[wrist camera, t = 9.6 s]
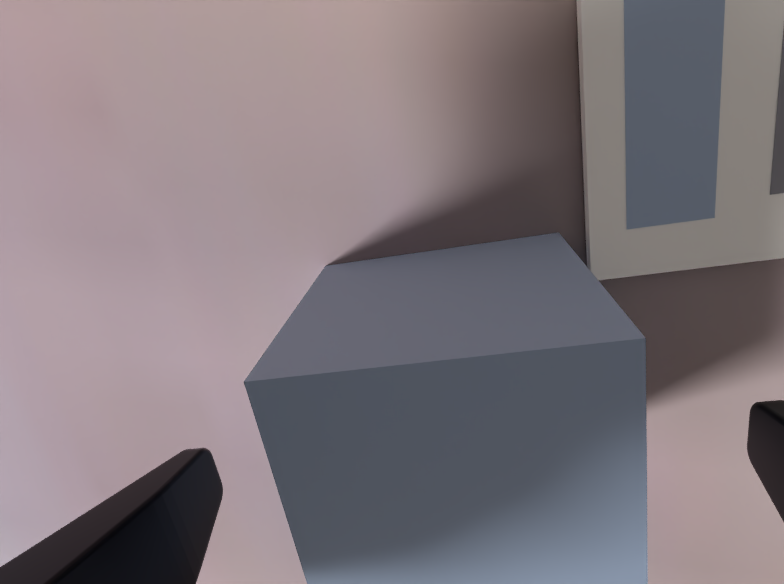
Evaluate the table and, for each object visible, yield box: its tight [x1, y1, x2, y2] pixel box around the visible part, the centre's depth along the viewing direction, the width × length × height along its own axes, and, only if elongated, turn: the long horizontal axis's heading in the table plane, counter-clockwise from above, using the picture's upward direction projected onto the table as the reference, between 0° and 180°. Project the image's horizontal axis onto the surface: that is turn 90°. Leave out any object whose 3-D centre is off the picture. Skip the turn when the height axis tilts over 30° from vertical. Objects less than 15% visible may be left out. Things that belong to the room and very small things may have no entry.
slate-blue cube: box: [244, 233, 648, 584], centre depth 9 cm, size 5×5×5 cm
